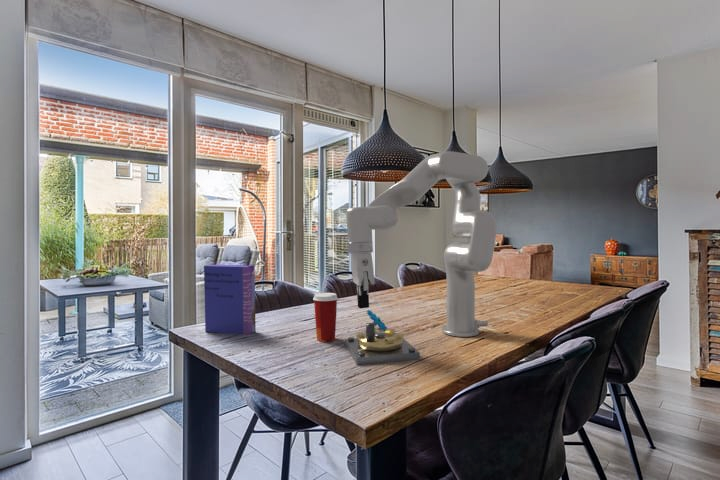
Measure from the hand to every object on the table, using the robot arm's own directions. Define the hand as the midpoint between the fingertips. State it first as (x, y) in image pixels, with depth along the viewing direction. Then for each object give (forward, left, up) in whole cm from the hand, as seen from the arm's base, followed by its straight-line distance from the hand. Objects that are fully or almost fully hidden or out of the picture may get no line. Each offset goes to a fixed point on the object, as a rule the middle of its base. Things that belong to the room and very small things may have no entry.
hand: (363, 307), depth 121 cm
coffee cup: (+10, -12, -13) cm, 20 cm away
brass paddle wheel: (-4, +5, -10) cm, 12 cm away
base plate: (-4, +5, -13) cm, 14 cm away
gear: (-9, -18, -13) cm, 24 cm away
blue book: (+42, -30, -13) cm, 53 cm away
